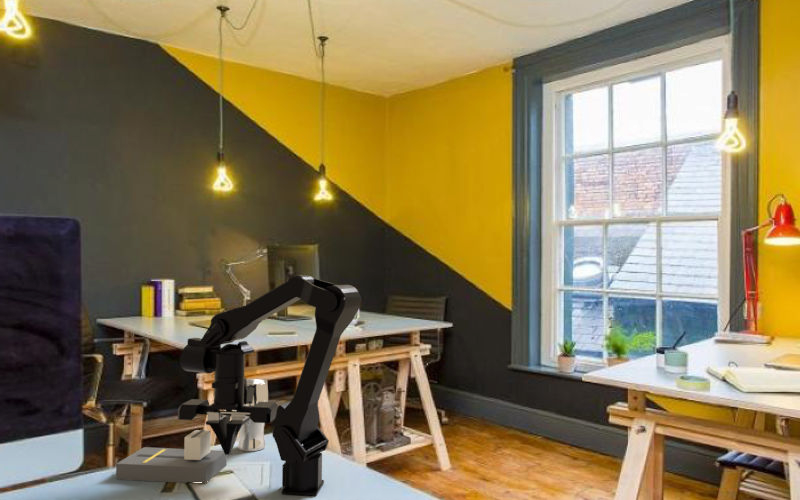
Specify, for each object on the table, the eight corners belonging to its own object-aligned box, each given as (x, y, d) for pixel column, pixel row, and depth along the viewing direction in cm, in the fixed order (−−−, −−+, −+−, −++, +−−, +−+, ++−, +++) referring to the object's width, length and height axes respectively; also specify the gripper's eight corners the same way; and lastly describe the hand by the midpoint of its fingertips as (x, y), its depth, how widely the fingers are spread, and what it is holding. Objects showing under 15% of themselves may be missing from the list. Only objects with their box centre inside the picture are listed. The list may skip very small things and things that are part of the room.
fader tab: (210, 451, 118) (210, 429, 118) (199, 460, 113) (200, 437, 113) (195, 451, 119) (195, 429, 119) (184, 459, 114) (184, 436, 114)
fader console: (226, 465, 120) (226, 450, 120) (205, 483, 110) (205, 467, 111) (143, 461, 122) (144, 446, 122) (116, 479, 112) (116, 463, 112)
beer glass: (256, 440, 137) (257, 376, 138) (273, 447, 132) (274, 381, 133) (229, 447, 132) (231, 381, 133) (246, 454, 127) (247, 385, 128)
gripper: (287, 369, 123) (286, 443, 122) (202, 366, 125) (200, 440, 124) (270, 379, 112) (268, 461, 111) (177, 376, 113) (175, 457, 113)
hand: (228, 454), depth 115 cm, fingers closed
